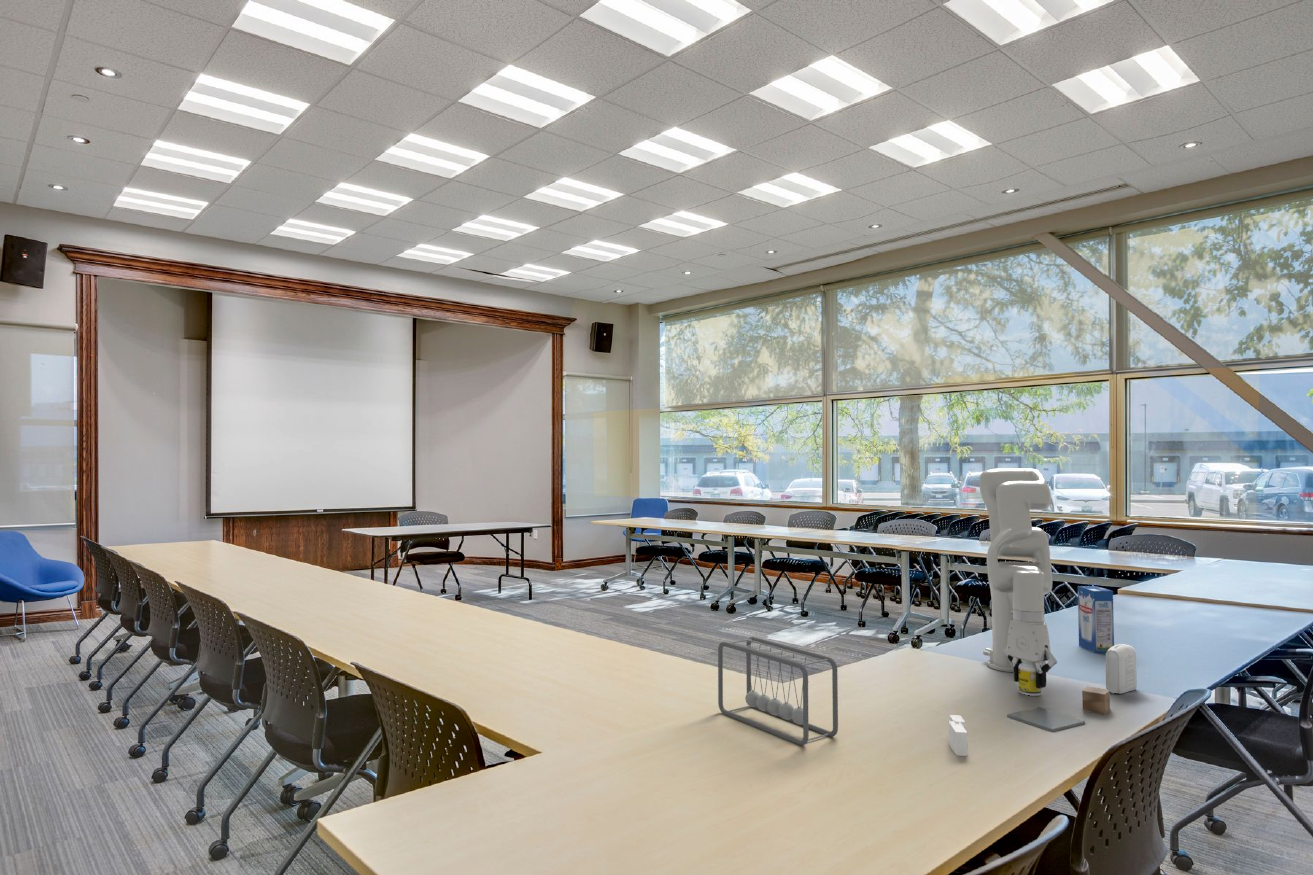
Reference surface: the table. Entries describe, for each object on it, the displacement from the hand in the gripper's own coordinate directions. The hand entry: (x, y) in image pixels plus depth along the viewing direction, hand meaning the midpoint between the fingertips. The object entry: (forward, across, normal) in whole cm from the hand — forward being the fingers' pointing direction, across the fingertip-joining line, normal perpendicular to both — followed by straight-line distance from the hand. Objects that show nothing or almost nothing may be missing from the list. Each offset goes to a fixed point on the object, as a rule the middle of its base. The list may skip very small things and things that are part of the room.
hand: (1029, 683), depth 207 cm
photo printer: (+3, +10, +24) cm, 26 cm away
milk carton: (+3, -22, +63) cm, 67 cm away
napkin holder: (+3, +18, -47) cm, 51 cm away
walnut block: (+3, +17, +2) cm, 17 cm away
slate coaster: (+3, +16, -16) cm, 23 cm away
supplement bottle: (+3, 0, 0) cm, 3 cm away
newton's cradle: (+3, -12, -75) cm, 76 cm away
